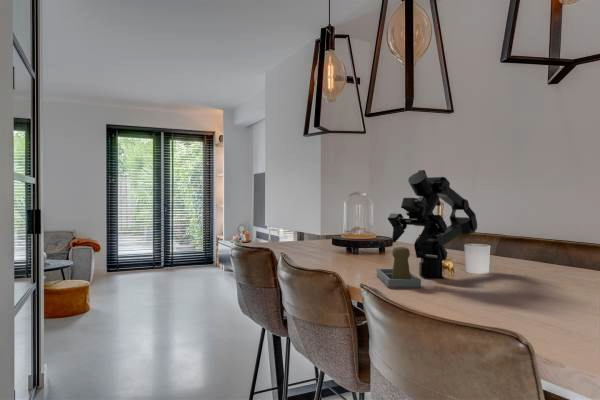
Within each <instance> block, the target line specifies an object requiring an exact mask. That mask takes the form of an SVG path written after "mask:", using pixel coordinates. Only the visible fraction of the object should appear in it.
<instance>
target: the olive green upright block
mask: <svg viewBox="0 0 600 400" xmlns="http://www.w3.org/2000/svg"><path fill="white" fill-rule="evenodd" d="M391 253H392V254H391V255H392V257H393V264H392V265H393V266H392V269H393V272H392V279H411V278H410V272H411V271H410V265H409V264H410V263H409V257H410V254H411V252H410V249H409V248H407V247H404V246H396V247H394V248H393V249H392V252H391Z"/></svg>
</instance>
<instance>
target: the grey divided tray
mask: <svg viewBox="0 0 600 400" xmlns="http://www.w3.org/2000/svg"><path fill="white" fill-rule="evenodd" d="M392 272H393V268H376V277H377V279H379V280H380V282H382V284H384V285H385V286H386V287H387V288H388V289H421V288H422V279H421V278H419V277H418V276H417V275H415V274H414V273H412V272H411V271H410V278H411V279H392Z"/></svg>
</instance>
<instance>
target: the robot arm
mask: <svg viewBox="0 0 600 400" xmlns="http://www.w3.org/2000/svg"><path fill="white" fill-rule="evenodd" d="M408 183H409V186H410V187H411V189H412V190H413V192H414V195H415V196H417V197H418V198H417V197H403V199H402V203H401V207H400V208H401V209H403V210H405V211H406V212H405V214H406V216H408V217H404V216H403V214H402V213H390V214H389V215H388V217H387V220H388V221H389V222H388V223H390V225H391V226H392V237H391V241H392V243H396V242H397V241H398V240H399V239H400V237H401V236H402V235H403V234H404V233H405V232H406V231H405V230H406V229H407V227H408V225H409V226H410V225H411V226H415V227H423V229H422V231H421V233H420V234H418V237H417V238H416V239H415V241H414V244H413V245H414V251H415V257H416V259H420V262H418V271H419V273H418V274H419V276H420V277H422V278H423V279H426V280H427V279H445V276H444V275H443V261H446V260H447V258H448V252H447V249H446V248H445V245H447V244H448V243H450V242H452V241H453V240H455V239H457V238H458V237H460V236H462V235H472V234H474V233H476V231H477V229H478V220H477V215H476V213H475V212H474V210H472V208H471V207H470V203H469V201H468V199H466V198H464V197H463V196H461V195H460V194H459V193H457V192H456V191H455V190H454V189H452V188H451V187H450V185H451V182H450V181H449V179H447V178H446V177H445V176H435V177H428V175H427V172H426V171H425V169H423V170H422V169H419V170H418V171H417V172H415V173H413V174H412V175H410V176H409V177H408ZM441 200H442V201H444V203H446V204H447V205H449V206H451V210H452V211H451V214H450V215H449V221H450V225H447V224H446V221H445V220H444V218H443V216H442V215H441V214H434V209H436V206H439V207H440V206H441V204H442V203H441ZM457 211H464V213H465V214H466V216H467V217H463V216H461V217H459V216H456V212H457Z"/></svg>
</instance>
